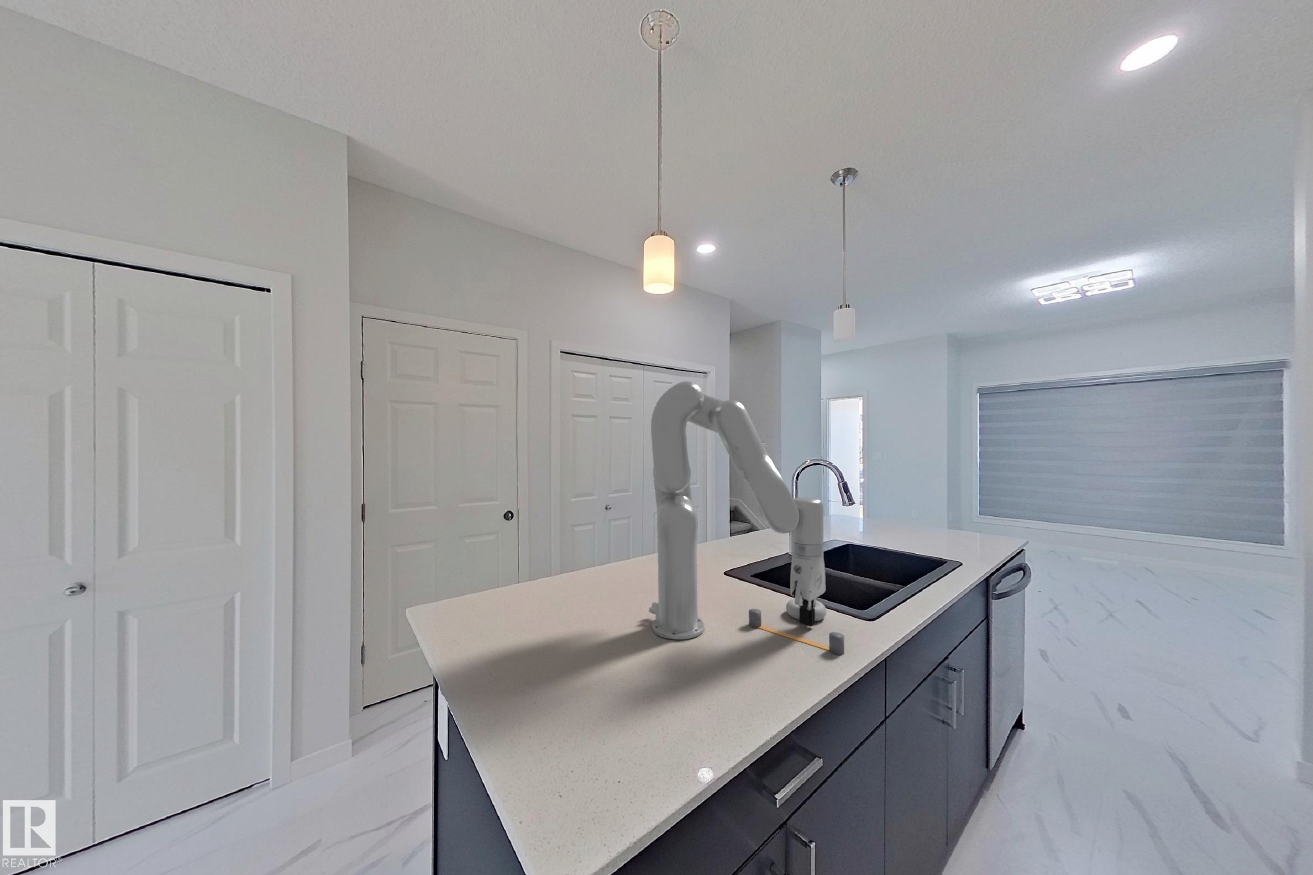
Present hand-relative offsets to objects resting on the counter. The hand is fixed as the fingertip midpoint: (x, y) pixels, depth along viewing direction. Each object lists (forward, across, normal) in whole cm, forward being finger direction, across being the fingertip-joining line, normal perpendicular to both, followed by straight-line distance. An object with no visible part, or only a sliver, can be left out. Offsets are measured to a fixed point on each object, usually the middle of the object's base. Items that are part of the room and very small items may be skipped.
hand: (807, 623), depth 109 cm
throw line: (+1, -8, 0) cm, 8 cm away
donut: (-1, +1, +2) cm, 2 cm away
